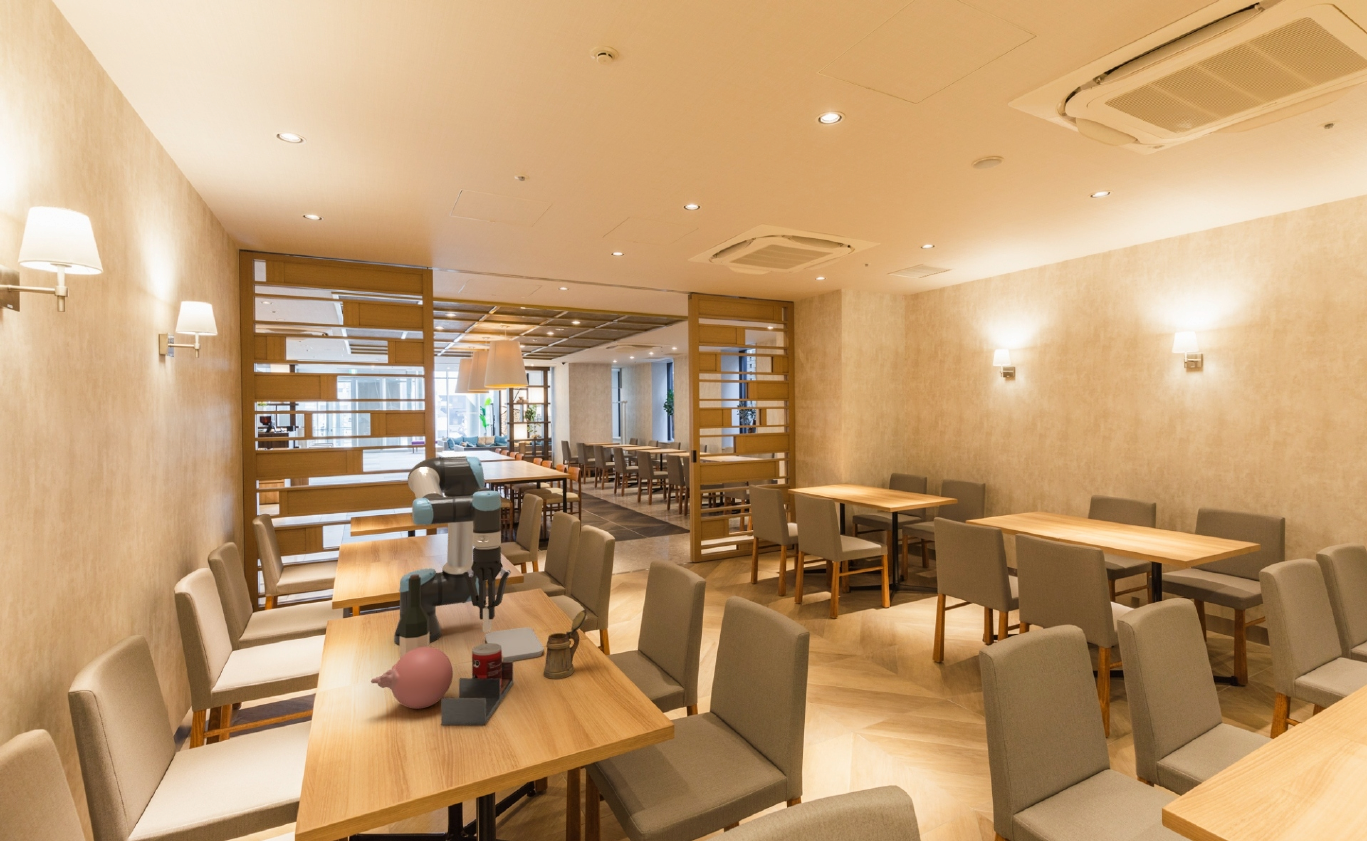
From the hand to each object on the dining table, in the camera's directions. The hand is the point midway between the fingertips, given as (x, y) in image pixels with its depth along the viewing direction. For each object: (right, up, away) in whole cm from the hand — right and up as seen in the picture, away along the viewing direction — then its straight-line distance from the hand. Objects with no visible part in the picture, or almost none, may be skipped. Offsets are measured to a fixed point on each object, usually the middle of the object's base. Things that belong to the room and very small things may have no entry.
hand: (487, 630), depth 172 cm
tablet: (-2, -18, +35) cm, 40 cm away
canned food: (0, -16, 0) cm, 16 cm away
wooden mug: (+19, -18, +15) cm, 30 cm away
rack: (0, -18, -6) cm, 19 cm away
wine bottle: (-26, -18, +13) cm, 34 cm away
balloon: (-17, -18, -8) cm, 26 cm away
